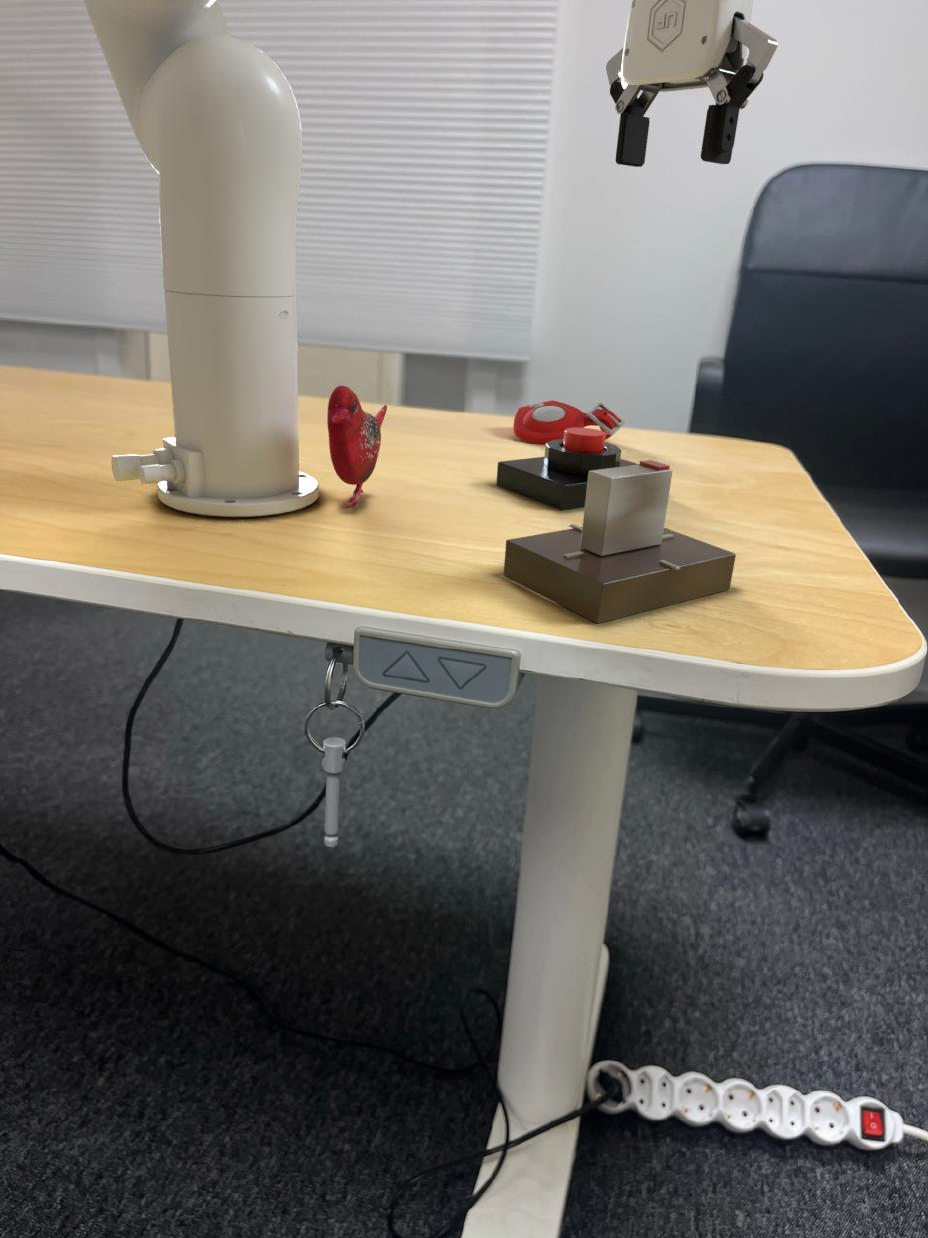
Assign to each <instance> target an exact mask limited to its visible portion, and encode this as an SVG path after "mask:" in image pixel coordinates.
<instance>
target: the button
mask: <svg viewBox="0 0 928 1238" xmlns="http://www.w3.org/2000/svg"><path fill="white" fill-rule="evenodd" d="M600 430H601V429H595V428H589V427H584V428H568V429H565V431H564V441H563V448H566V449H569V450H575V451H581V452H601V451H604V443H606V440H605V435H606V434H605V432H603V431H600Z"/></svg>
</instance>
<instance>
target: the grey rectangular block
mask: <svg viewBox="0 0 928 1238" xmlns="http://www.w3.org/2000/svg"><path fill="white" fill-rule="evenodd" d="M638 464H639V465H631V466H623V467H615V468H608V469H600V470H592V471H589V474H588V483H587V492H586V501H585V507H584V508H583V509H584V510H583V520H582V526H581V527H582V536H581V545H580V547H581V548H583V549H586V550H588V551H591V552H593V553H595V554H598V555H600V556H605V555H610V554H614V553H619V552H624V551H629V550H634V549H639V548H644V547H649V546H654V545H659V544H661V543H662V538H663V531H664V528H665V524H666V517H667V511H668V504H669V498H670V490H671V484H672V478H673V471H674V470H673V469H672V468H671V466H670V465H669V464H665V463H662V462H659V461H656V460H652V459H647V460H646V459H645V460H639V463H638Z"/></svg>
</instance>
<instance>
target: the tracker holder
mask: <svg viewBox="0 0 928 1238" xmlns="http://www.w3.org/2000/svg"><path fill="white" fill-rule="evenodd" d="M625 424H626V421H625V420H624V419H623V418H621V417H620V416H618V415H617V414H616V413H615V412H614V411H613V410H611V409H610V408H609V407H608V406H606V404H605V403H603V402H601V401H599V402H598V403H596V405H594V406H593V407H592V408H591V409H589V411H587V412H584V411H582V410H580V409H579V408H577V407H575V406H572V405H571V404H567V403H565V402H562V401H558V400H554V399H552V400H551V399H550V400H547V401H542V402H540V401H535V402H532V403H530V404H528V405H524V406H519V407H518V408H517V410H516V413H515V416H514V419H513V426H512V428H513V429H512V430H513V434H514V436H516V438H519V439H520V440H521V441H523V442H527V443H530V444H537V445H546V443H548V442H550V441H552V440H559V439H564V431H565V429H568V428H587V427H590V426H594V427H595V426H596V427H597V426H598V427H599V430H600V431H603V432H605V434H606V435H605V441H606V440H608V439H610V438H611V437H612V436H614V435H615V434H616V433H617V432H618V431H619V430H620V429H621V428H622V427H623V426H625Z"/></svg>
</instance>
